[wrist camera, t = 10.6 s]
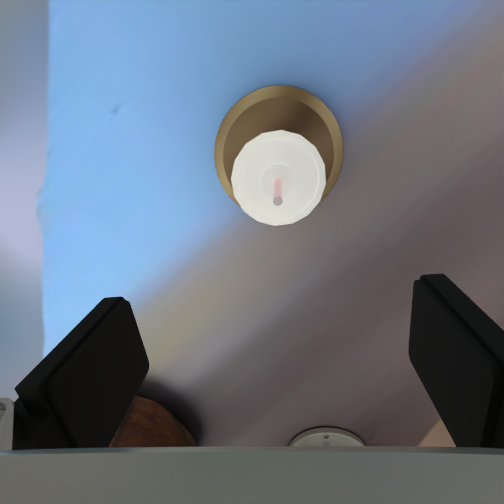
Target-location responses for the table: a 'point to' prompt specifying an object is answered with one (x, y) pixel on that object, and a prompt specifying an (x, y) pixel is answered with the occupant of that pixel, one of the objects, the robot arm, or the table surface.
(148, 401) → the brown vase
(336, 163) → the pedestal
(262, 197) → the beverage cup
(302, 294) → the table surface
